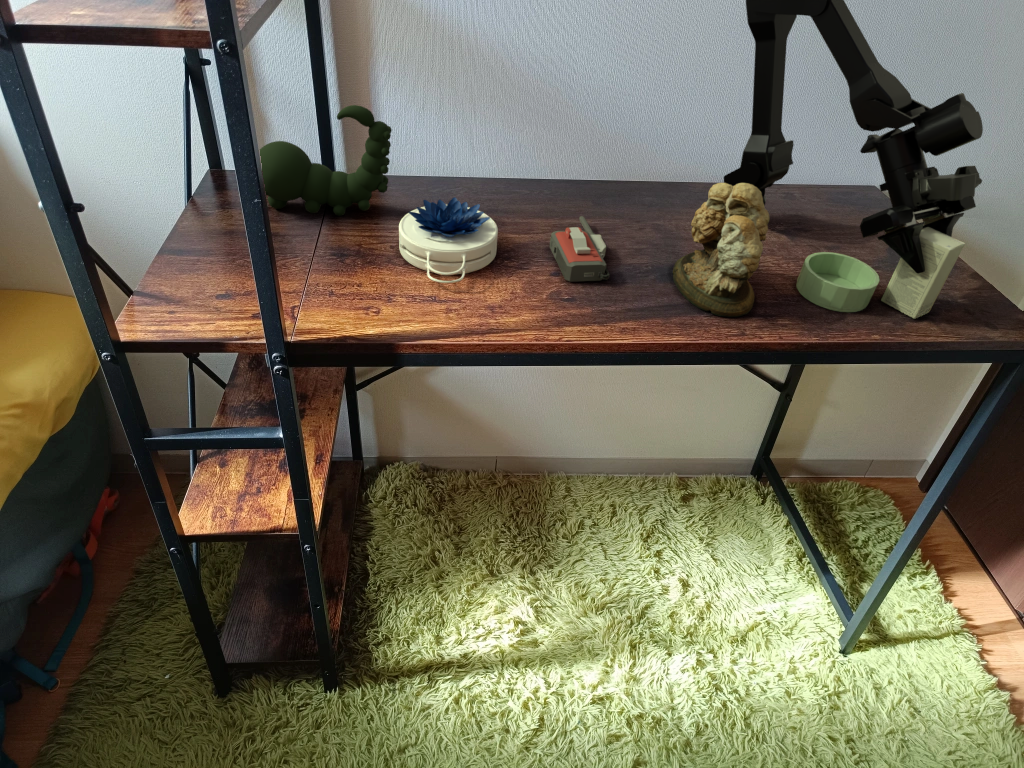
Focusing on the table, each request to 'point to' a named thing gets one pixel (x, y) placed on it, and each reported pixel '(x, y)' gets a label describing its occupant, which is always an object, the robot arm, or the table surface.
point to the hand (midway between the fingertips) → (933, 269)
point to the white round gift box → (448, 238)
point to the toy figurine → (327, 171)
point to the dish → (837, 282)
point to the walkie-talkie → (579, 253)
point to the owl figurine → (724, 250)
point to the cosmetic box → (923, 275)
